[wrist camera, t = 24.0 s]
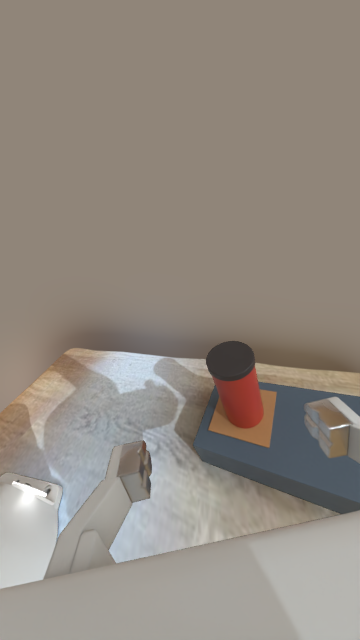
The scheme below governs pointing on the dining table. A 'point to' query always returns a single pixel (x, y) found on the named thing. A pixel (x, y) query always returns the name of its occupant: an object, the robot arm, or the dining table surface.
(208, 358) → the red canister
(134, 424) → the dining table surface
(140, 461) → the robot arm
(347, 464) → the platform
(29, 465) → the dining table surface
